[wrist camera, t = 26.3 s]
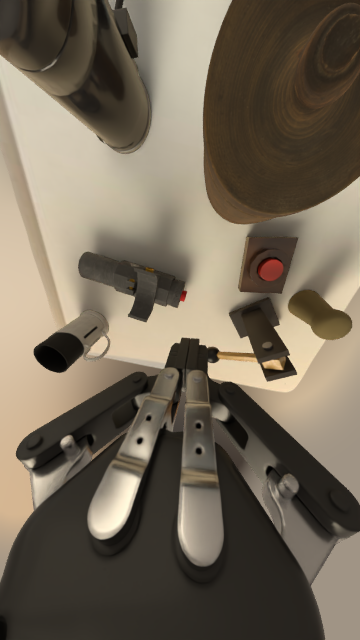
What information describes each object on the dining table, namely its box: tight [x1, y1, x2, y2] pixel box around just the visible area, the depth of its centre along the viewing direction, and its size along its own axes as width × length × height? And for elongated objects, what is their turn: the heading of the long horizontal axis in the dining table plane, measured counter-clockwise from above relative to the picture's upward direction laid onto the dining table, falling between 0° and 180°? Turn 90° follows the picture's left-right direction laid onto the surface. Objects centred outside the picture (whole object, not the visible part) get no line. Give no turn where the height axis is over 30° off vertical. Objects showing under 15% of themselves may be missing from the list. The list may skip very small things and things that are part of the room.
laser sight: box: [78, 252, 187, 322], centre depth 35 cm, size 10×22×10 cm, turn 75°
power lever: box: [207, 347, 286, 370], centre depth 31 cm, size 15×3×3 cm, turn 119°
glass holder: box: [34, 310, 110, 373], centre depth 41 cm, size 9×14×15 cm, turn 88°
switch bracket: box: [229, 297, 297, 382], centre depth 32 cm, size 9×7×16 cm
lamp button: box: [258, 258, 283, 281], centre depth 29 cm, size 4×4×2 cm
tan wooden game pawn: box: [288, 290, 352, 340], centre depth 31 cm, size 6×6×11 cm
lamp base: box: [238, 237, 298, 294], centre depth 32 cm, size 10×8×4 cm
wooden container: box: [203, 0, 360, 224], centre depth 18 cm, size 15×15×22 cm
